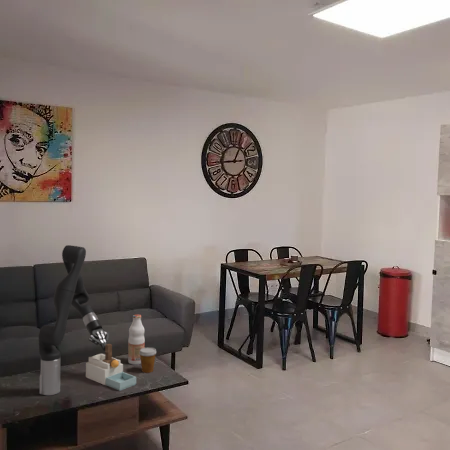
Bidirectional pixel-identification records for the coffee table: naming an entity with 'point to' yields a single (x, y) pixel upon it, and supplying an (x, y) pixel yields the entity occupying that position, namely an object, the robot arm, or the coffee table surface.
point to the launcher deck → (101, 369)
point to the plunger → (108, 354)
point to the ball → (114, 363)
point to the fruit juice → (136, 340)
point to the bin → (121, 381)
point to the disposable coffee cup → (147, 359)
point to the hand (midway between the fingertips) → (106, 349)
